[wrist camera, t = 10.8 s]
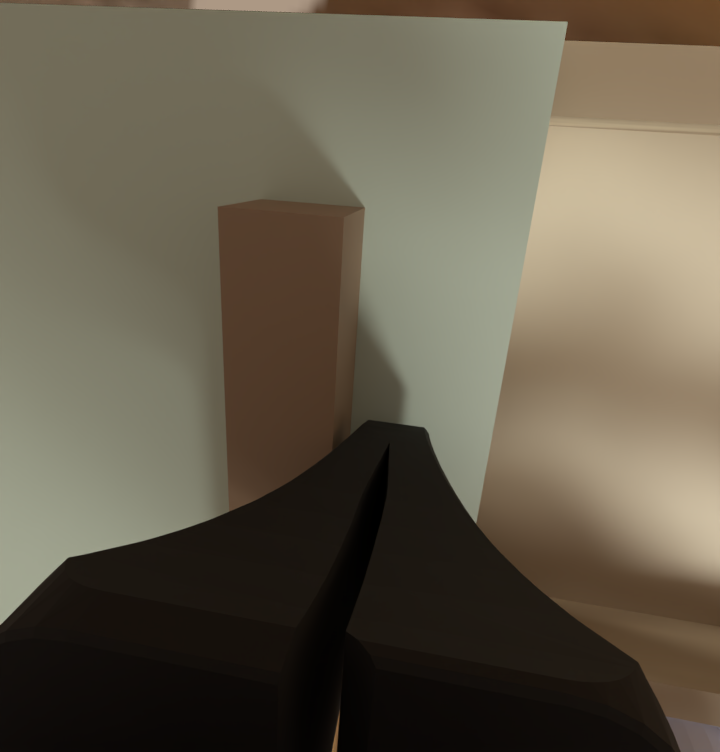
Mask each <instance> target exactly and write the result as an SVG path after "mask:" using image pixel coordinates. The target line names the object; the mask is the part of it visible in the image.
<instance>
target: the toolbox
mask: <svg viewBox="0 0 720 752" xmlns="http://www.w3.org/2000/svg"><path fill="white" fill-rule="evenodd" d="M476 524H477V526H478V527H479V528H480V529H481V531H482V532H483V533H484V534H485V536H486V537H487V538H488V539H489V541H490V542H491V543H492V544H493V545H494V546H495V547H496V548H497V549H498V550H499V552H500V553H501V554H502V555H504V556H505V557H506V558H507V559H508V560H509V561H510V562H511V563H512V564H513V565H514V566H515V567H516V568H517V569H518V570H519V571H520V572H521V573H522V574H523V575H524V576H525V577H526V578H527V579H528V580H529V581H531V582H532V583H533V584H534V585H535V586H536V587H537V588H538V589H540V590H541V591H542V592H543V593H544V594H546V595H547V596H548V597H549V598H550V599H552V600H553V601H554V602H555V603H557V604H558V605H559V606H560V607H562V608H563V609H564V610H565V611H566V612H568V613H569V614H570V615H572V616H573V617H574V618H575V619H577V620H578V621H580V622H581V623H583V624H584V625H585V626H587V627H588V628H590V629H591V630H593V631H594V632H595V633H597V634H598V635H600V636H601V637H603V638H604V639H606V640H607V641H608V642H610V643H611V644H613V645H614V646H616V647H617V648H619V649H620V650H621V651H623V652H624V653H626V654H627V655H629V656H630V657H632V658H633V659H634V660H636V661H637V662H638V663H639V664H640V666H641V668H642V670H643V672H644V674H645V676H646V679H647V680H648V682H649V684H650V686H651V688H652V690H653V692H654V694H655V696H656V697H657V699H658V701H659V703H660V705H661V707H662V709H663V712H664V714H665V716H667V717H672V718H677V719H682V720H687V721H692V722H697V723H703V724H708V725H713V726H718V727H720V46H698V45H671V44H645V43H619V42H593V41H566V40H565V41H564V46H563V52H562V57H561V63H560V68H559V73H558V79H557V84H556V90H555V95H554V101H553V106H552V112H551V117H550V123H549V128H548V134H547V139H546V145H545V150H544V155H543V161H542V166H541V172H540V177H539V183H538V188H537V194H536V199H535V205H534V210H533V216H532V221H531V226H530V232H529V237H528V243H527V248H526V254H525V259H524V265H523V270H522V276H521V281H520V287H519V292H518V298H517V303H516V308H515V314H514V319H513V325H512V330H511V336H510V341H509V347H508V352H507V358H506V363H505V369H504V374H503V379H502V385H501V390H500V396H499V401H498V407H497V412H496V418H495V423H494V429H493V434H492V440H491V445H490V451H489V456H488V461H487V467H486V472H485V478H484V483H483V489H482V494H481V500H480V505H479V511H478V516H477V522H476Z"/></svg>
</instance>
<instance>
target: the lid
mask: <svg viewBox="0 0 720 752" xmlns="http://www.w3.org/2000/svg"><path fill="white" fill-rule="evenodd" d="M567 24H568V22H561V21H531V20H501V19H471V18H441V17H411V16H382V15H352V14H322V13H292V12H262V11H261V12H260V11H231V10H203V9H173V8H143V7H113V6H83V5H53V4H24V3H0V625H1V624H2V623H3V622H4V621H5V620H6V619H7V618H8V617H9V616H10V615H11V614H12V613H13V612H14V611H15V610H16V609H17V608H18V607H19V605H20V604H21V603H22V602H23V601H24V600H25V599H26V598H27V597H28V596H29V595H30V594H31V593H32V592H33V591H34V590H35V589H36V588H37V587H38V586H39V585H40V584H41V583H42V582H43V581H44V580H45V579H46V578H47V577H48V576H49V575H50V574H51V573H52V572H53V571H54V570H55V569H57V568H58V567H59V566H60V565H61V564H62V563H63V562H64V561H65V560H66V559H67V558H68V557H73V556H79V555H84V554H88V553H93V552H97V551H102V550H106V549H110V548H115V547H119V546H124V545H128V544H132V543H137V542H141V541H144V540H148V539H152V538H155V537H159V536H162V535H165V534H169V533H172V532H175V531H178V530H182V529H185V528H188V527H190V526H193V525H196V524H199V523H202V522H205V521H208V520H210V519H213V518H215V517H217V516H220V515H222V514H225V513H227V512H229V511H232V510H234V509H236V508H239V507H241V506H243V505H246V504H248V503H250V502H253V501H255V500H257V499H259V498H261V497H263V496H264V495H266V494H268V493H270V492H272V491H274V490H276V489H278V488H279V487H281V486H283V485H285V484H286V483H288V482H290V481H291V480H293V479H294V478H296V477H297V476H299V475H300V474H301V473H303V472H304V471H306V470H307V469H309V468H310V467H312V466H313V465H314V464H316V463H317V462H318V461H320V460H321V459H322V458H324V457H325V456H326V455H327V454H329V453H330V452H331V451H332V450H334V449H335V448H336V447H337V446H338V445H340V444H341V443H342V442H343V441H344V440H345V439H347V438H348V437H349V436H350V435H351V434H352V433H353V432H354V431H355V430H357V429H358V428H359V427H360V426H361V425H362V424H363V423H365V422H366V421H367V420H374V421H381V422H389V423H396V424H403V425H411V426H418V427H424V428H425V429H426V430H427V431H428V433H429V437H430V441H431V444H432V447H433V449H434V452H435V454H436V457H437V459H438V461H439V463H440V466H441V468H442V469H443V471H444V473H445V475H446V477H447V479H448V481H449V483H450V485H451V486H452V488H453V490H454V491H455V493H456V495H457V496H458V498H459V500H460V501H461V503H462V504H463V506H464V507H465V509H466V510H467V512H468V513H469V515H470V516H471V517H472V519H473V520H474V522H475V523H476V522H477V516H478V511H479V505H480V500H481V494H482V489H483V483H484V478H485V472H486V467H487V461H488V456H489V451H490V445H491V440H492V434H493V429H494V423H495V418H496V412H497V407H498V401H499V396H500V390H501V385H502V379H503V374H504V369H505V363H506V358H507V352H508V347H509V341H510V336H511V330H512V325H513V319H514V314H515V308H516V303H517V298H518V292H519V287H520V281H521V276H522V270H523V265H524V259H525V254H526V248H527V243H528V237H529V232H530V226H531V221H532V216H533V210H534V205H535V199H536V194H537V188H538V183H539V177H540V172H541V166H542V161H543V155H544V150H545V145H546V139H547V134H548V128H549V123H550V117H551V112H552V106H553V101H554V95H555V90H556V84H557V79H558V73H559V68H560V63H561V57H562V52H563V46H564V41H565V35H566V30H567Z"/></svg>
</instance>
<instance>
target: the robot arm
mask: <svg viewBox="0 0 720 752" xmlns="http://www.w3.org/2000/svg"><path fill="white" fill-rule="evenodd" d="M339 712H340V715H339ZM338 717H339V728H338V742H337V752H720V727H718V726H713V725H708V724H703V723H697V722H692V721H687V720H682V719H677V718H672V717H667V716H665V714H664V712H663V709H662V707H661V705H660V703H659V701H658V699H657V697H656V696H655V694H654V692H653V690H652V688H651V686H650V684H649V682H648V680H647V679H646V676H645V674H644V672H643V670H642V668H641V666H640V664H639V663H638V662H637V661H636V660H634V659H633V658H632V657H630V656H629V655H627V654H626V653H624V652H623V651H621V650H620V649H619V648H617V647H616V646H614V645H613V644H611V643H610V642H608V641H607V640H606V639H604V638H603V637H601V636H600V635H598V634H597V633H595V632H594V631H593V630H591V629H590V628H588V627H587V626H585V625H584V624H583V623H581V622H580V621H578V620H577V619H575V618H574V617H573V616H572V615H570V614H569V613H568V612H566V611H565V610H564V609H563V608H562V607H560V606H559V605H558V604H557V603H555V602H554V601H553V600H552V599H550V598H549V597H548V596H547V595H546V594H544V593H543V592H542V591H541V590H540V589H538V588H537V587H536V586H535V585H534V584H533V583H532V582H531V581H529V580H528V579H527V578H526V577H525V576H524V575H523V574H522V573H521V572H520V571H519V570H518V569H517V568H516V567H515V566H514V565H513V564H512V563H511V562H510V561H509V560H508V559H507V558H506V557H505V556H504V555H502V554H501V553H500V552H499V550H498V549H497V548H496V547H495V546H494V545H493V544H492V543H491V542H490V541H489V539H488V538H487V537H486V536H485V534H484V533H483V532H482V531H481V529H480V528H479V527H478V526H477V524H476V523H475V522H474V520H473V519H472V517H471V516H470V515H469V513H468V512H467V510H466V509H465V507H464V506H463V504H462V503H461V501H460V500H459V498H458V496H457V495H456V493H455V491H454V490H453V488H452V486H451V485H450V483H449V481H448V479H447V477H446V475H445V473H444V471H443V469H442V468H441V466H440V463H439V461H438V459H437V457H436V454H435V452H434V449H433V447H432V444H431V441H430V437H429V433H428V431H427V430H426V429H425V428H424V427H418V426H411V425H403V424H396V423H389V422H381V421H374V420H367V421H366V422H365V423H363V424H362V425H361V426H360V427H359V428H358V429H357V430H355V431H354V432H353V433H352V434H351V435H350V436H349V437H348V438H347V439H345V440H344V441H343V442H342V443H341V444H340V445H338V446H337V447H336V448H335V449H334V450H332V451H331V452H330V453H329V454H327V455H326V456H325V457H324V458H322V459H321V460H320V461H318V462H317V463H316V464H314V465H313V466H312V467H310V468H309V469H307V470H306V471H304V472H303V473H301V474H300V475H299V476H297V477H296V478H294V479H293V480H291V481H290V482H288V483H286V484H285V485H283V486H281V487H279V488H278V489H276V490H274V491H272V492H270V493H268V494H266V495H264V496H263V497H261V498H259V499H257V500H255V501H253V502H250V503H248V504H246V505H243V506H241V507H239V508H236V509H234V510H232V511H229V512H227V513H225V514H222V515H220V516H217V517H215V518H213V519H210V520H208V521H205V522H202V523H199V524H196V525H193V526H190V527H188V528H185V529H182V530H178V531H175V532H172V533H169V534H165V535H162V536H159V537H155V538H152V539H148V540H144V541H141V542H137V543H132V544H128V545H124V546H119V547H115V548H110V549H106V550H102V551H97V552H93V553H88V554H84V555H79V556H73V557H68V558H67V559H66V560H65V561H64V562H63V563H62V564H61V565H60V566H59V567H58V568H57V569H55V570H54V571H53V572H52V573H51V574H50V575H49V576H48V577H47V578H46V579H45V580H44V581H43V582H42V583H41V584H40V585H39V586H38V587H37V588H36V589H35V590H34V591H33V592H32V593H31V594H30V595H29V596H28V597H27V598H26V599H25V600H24V601H23V602H22V603H21V604H20V605H19V607H18V608H17V609H16V610H15V611H14V612H13V613H12V614H11V615H10V616H9V617H8V618H7V619H6V620H5V621H4V622H3V623H2V624H1V625H0V752H332V748H333V743H334V738H335V733H336V727H337V722H338Z"/></svg>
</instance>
